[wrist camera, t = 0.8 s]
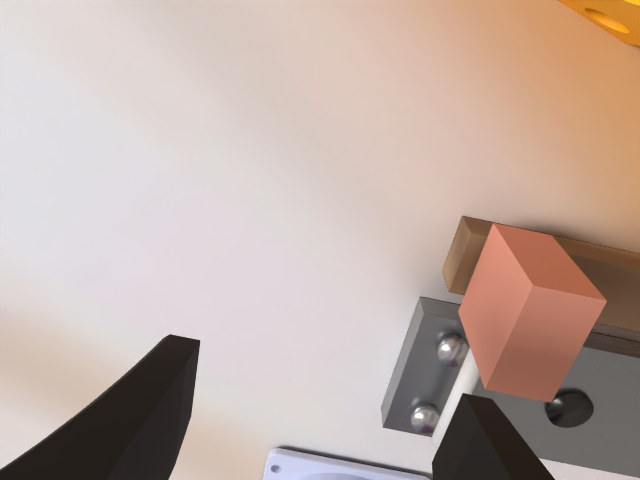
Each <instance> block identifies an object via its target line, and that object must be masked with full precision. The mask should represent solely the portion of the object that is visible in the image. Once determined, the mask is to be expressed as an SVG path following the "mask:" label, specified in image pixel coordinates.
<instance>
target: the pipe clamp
mask: <svg viewBox="0 0 640 480" xmlns="http://www.w3.org/2000/svg"><path fill="white" fill-rule="evenodd" d="M558 1H560V2H562V3H563V4H565V5H566V6H568V7H569V8H571V9H572V10H574V11H576V12H577V13H579V14H580V15H582V16H583V17H585V18H587V19H588V20H590V21H591V22H593V23H594V24H596V25H598V26H599V27H601V28H602V29H604V30H605V31H607V32H608V33H610V34H612V35H613V36H615V37H616V38H618V39H619V40H621V41H623V42H624V43H626V44H631V45H637V46H640V0H558Z"/></svg>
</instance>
